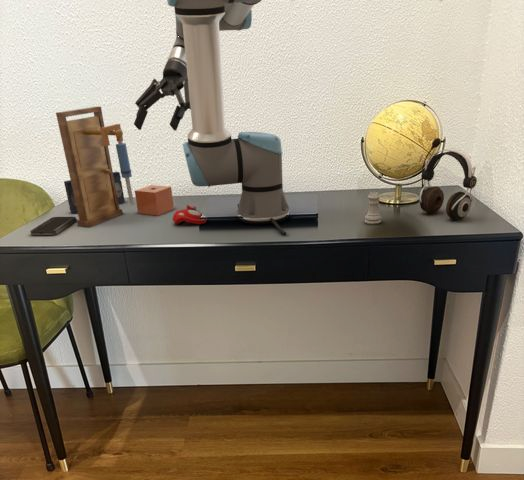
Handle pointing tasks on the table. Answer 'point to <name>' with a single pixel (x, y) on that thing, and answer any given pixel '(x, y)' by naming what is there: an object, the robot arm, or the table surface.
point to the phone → (53, 226)
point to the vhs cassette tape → (72, 200)
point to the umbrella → (120, 156)
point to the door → (89, 166)
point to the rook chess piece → (373, 209)
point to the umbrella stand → (154, 200)
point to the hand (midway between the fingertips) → (154, 127)
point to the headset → (434, 195)
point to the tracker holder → (188, 215)
